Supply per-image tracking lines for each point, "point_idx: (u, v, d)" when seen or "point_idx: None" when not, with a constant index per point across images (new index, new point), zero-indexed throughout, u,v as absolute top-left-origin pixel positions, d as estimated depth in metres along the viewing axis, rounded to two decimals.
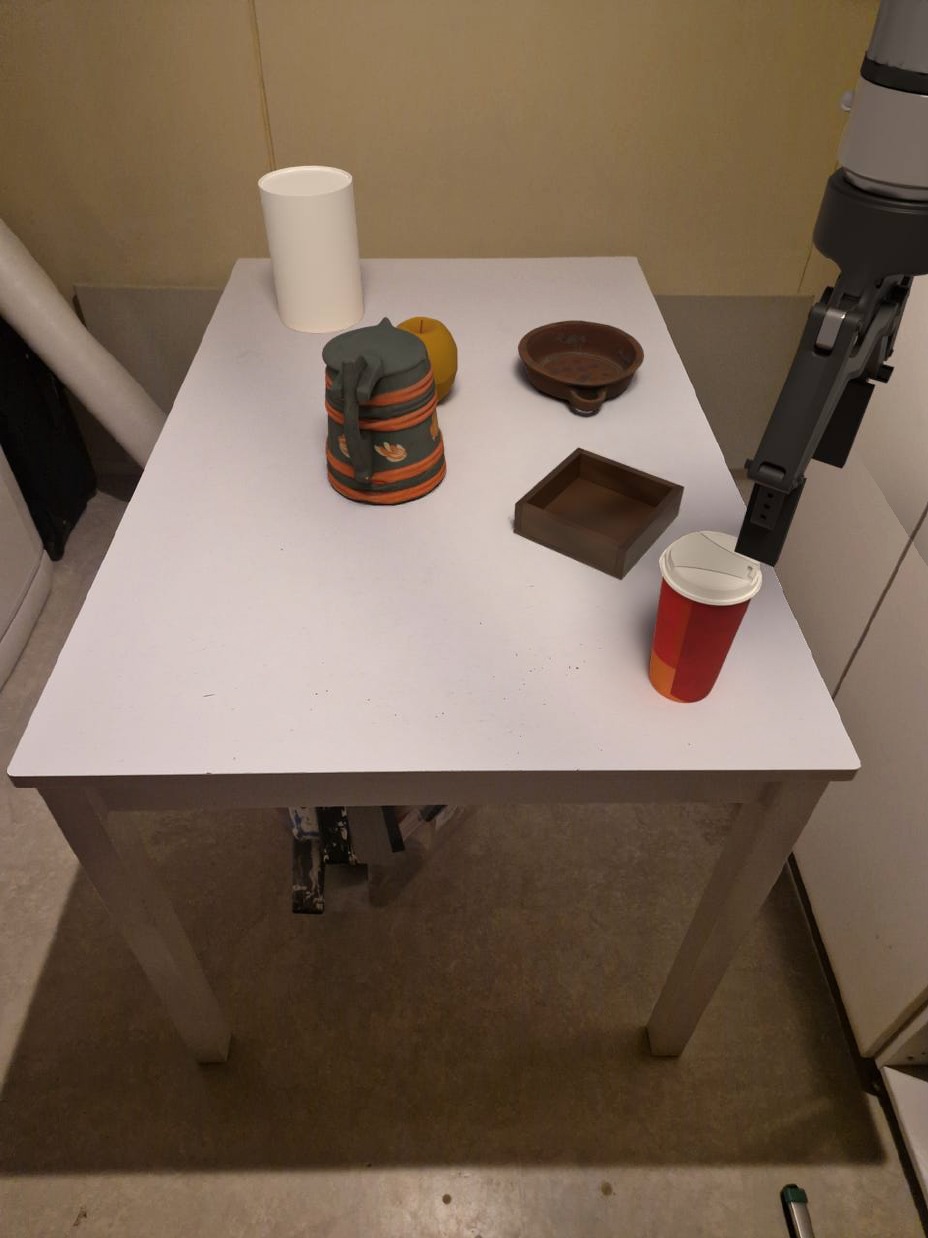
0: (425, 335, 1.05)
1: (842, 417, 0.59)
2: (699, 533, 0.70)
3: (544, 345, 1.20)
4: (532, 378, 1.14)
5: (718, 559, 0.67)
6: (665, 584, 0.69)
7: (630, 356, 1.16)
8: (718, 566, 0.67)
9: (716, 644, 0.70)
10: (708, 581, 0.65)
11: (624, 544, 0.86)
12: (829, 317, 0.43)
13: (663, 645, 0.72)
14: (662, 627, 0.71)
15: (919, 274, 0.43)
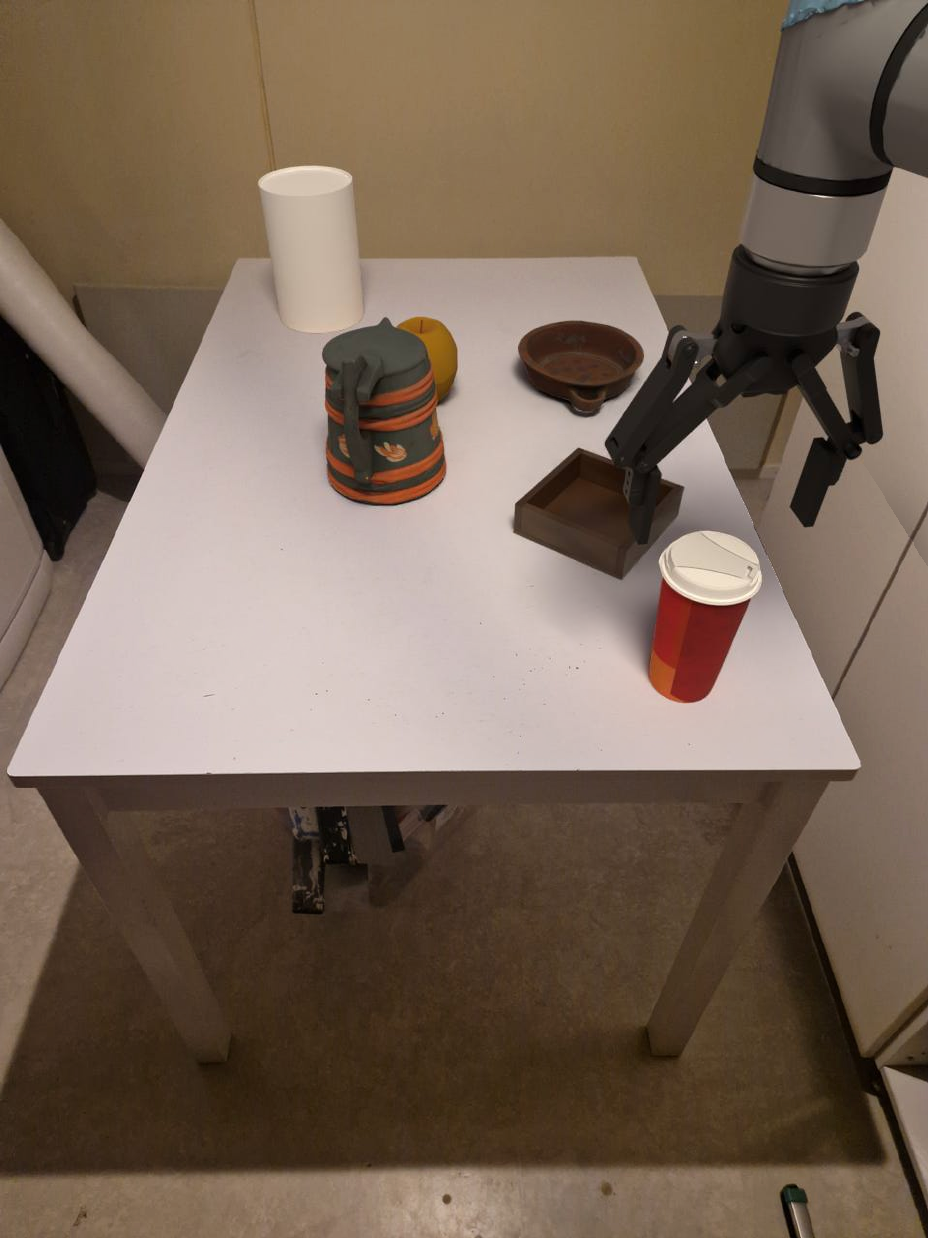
0: (425, 335, 1.05)
1: (812, 478, 0.63)
2: (699, 533, 0.70)
3: (544, 345, 1.20)
4: (532, 378, 1.14)
5: (718, 559, 0.67)
6: (665, 584, 0.69)
7: (630, 356, 1.16)
8: (718, 566, 0.67)
9: (716, 644, 0.70)
10: (707, 580, 0.65)
11: (624, 544, 0.86)
12: (674, 337, 0.53)
13: (663, 645, 0.72)
14: (662, 627, 0.71)
15: (761, 331, 0.51)
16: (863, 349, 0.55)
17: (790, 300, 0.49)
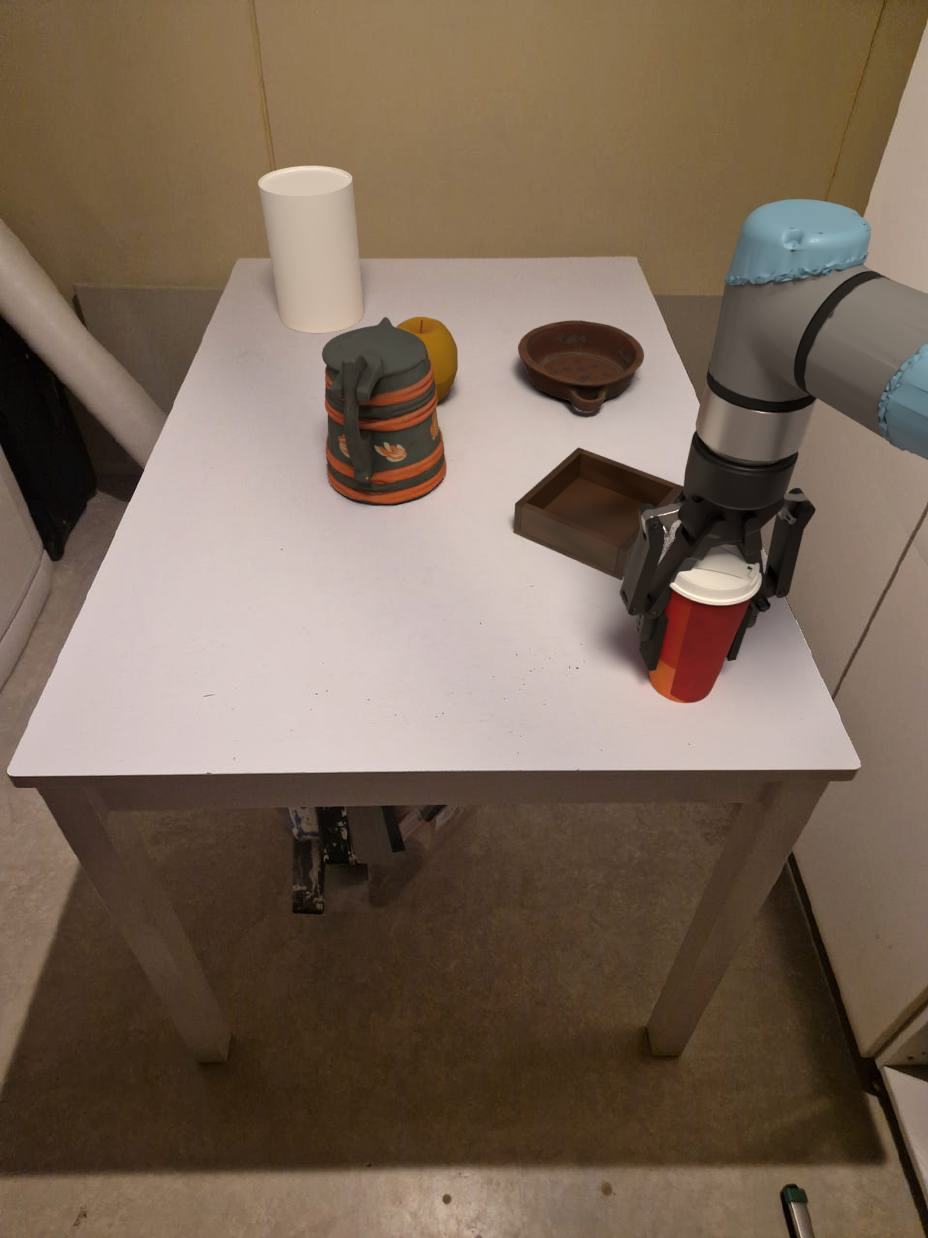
0: (425, 335, 1.05)
1: None
2: None
3: (544, 345, 1.20)
4: (532, 378, 1.14)
5: (718, 559, 0.67)
6: None
7: (630, 356, 1.16)
8: (718, 566, 0.67)
9: (716, 644, 0.70)
10: (707, 580, 0.65)
11: (624, 544, 0.86)
12: (642, 517, 0.63)
13: (663, 645, 0.72)
14: None
15: (717, 504, 0.60)
16: (799, 520, 0.64)
17: (739, 485, 0.58)
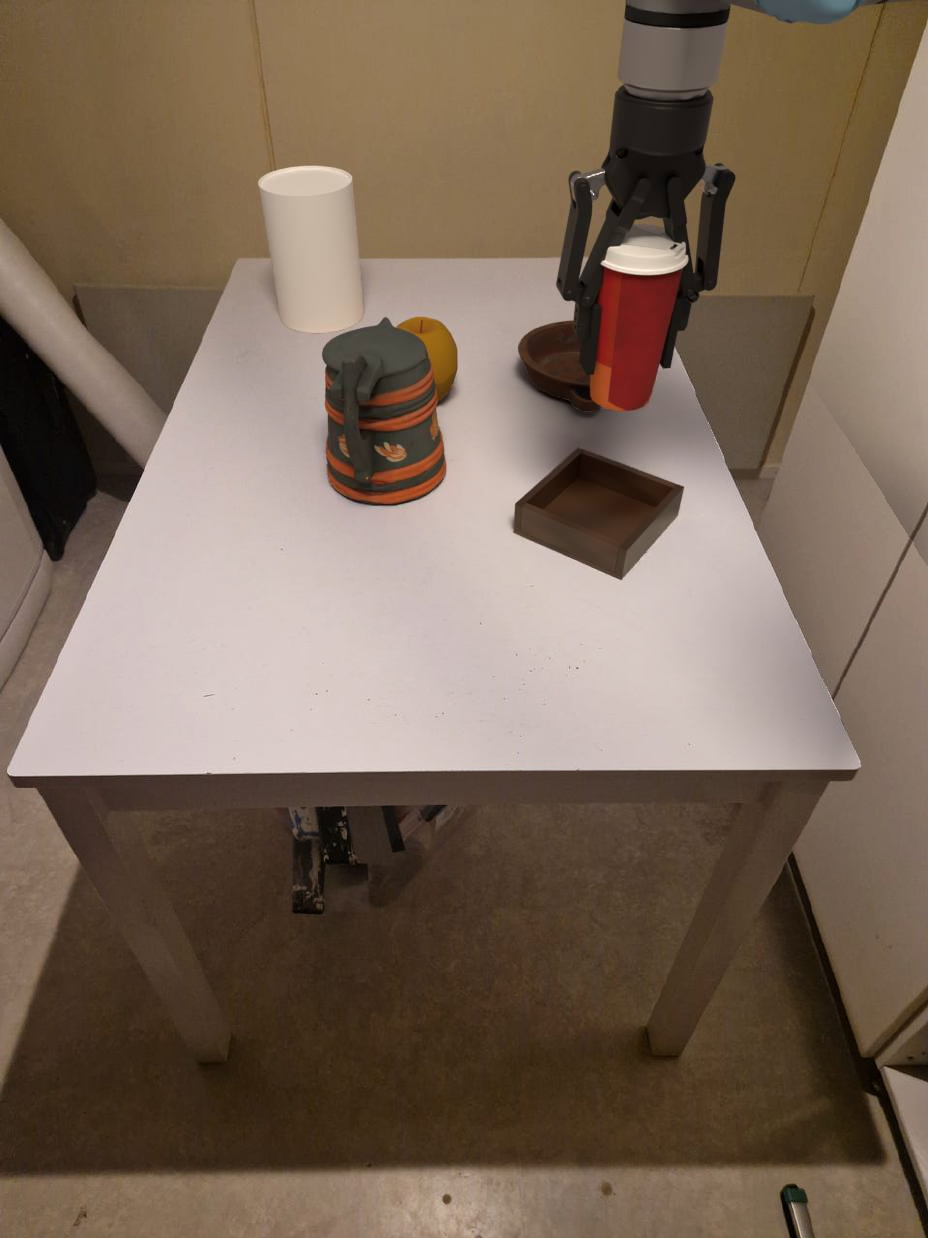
0: (425, 335, 1.05)
1: None
2: None
3: (544, 345, 1.20)
4: (532, 378, 1.14)
5: (646, 239, 0.71)
6: None
7: None
8: (646, 244, 0.70)
9: (647, 331, 0.73)
10: (635, 251, 0.69)
11: (624, 544, 0.86)
12: (571, 181, 0.67)
13: (599, 342, 0.76)
14: None
15: (638, 151, 0.64)
16: (720, 189, 0.68)
17: (656, 122, 0.62)
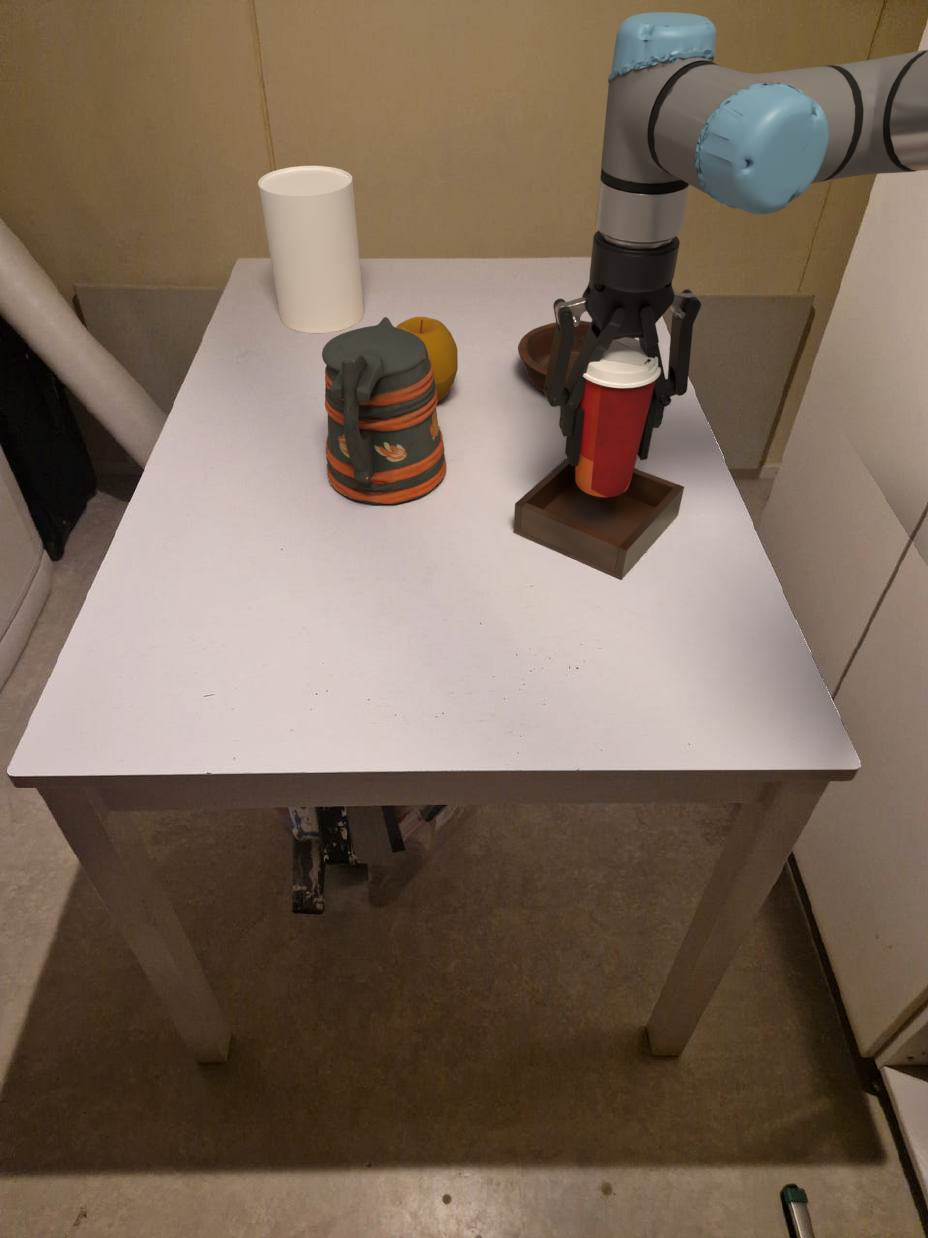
0: (425, 335, 1.05)
1: None
2: None
3: (544, 345, 1.20)
4: (532, 378, 1.14)
5: (623, 354, 0.80)
6: None
7: None
8: (622, 359, 0.79)
9: (624, 432, 0.82)
10: (612, 367, 0.78)
11: (624, 544, 0.86)
12: (556, 309, 0.76)
13: (582, 439, 0.85)
14: None
15: (613, 288, 0.73)
16: (687, 314, 0.77)
17: (629, 266, 0.71)
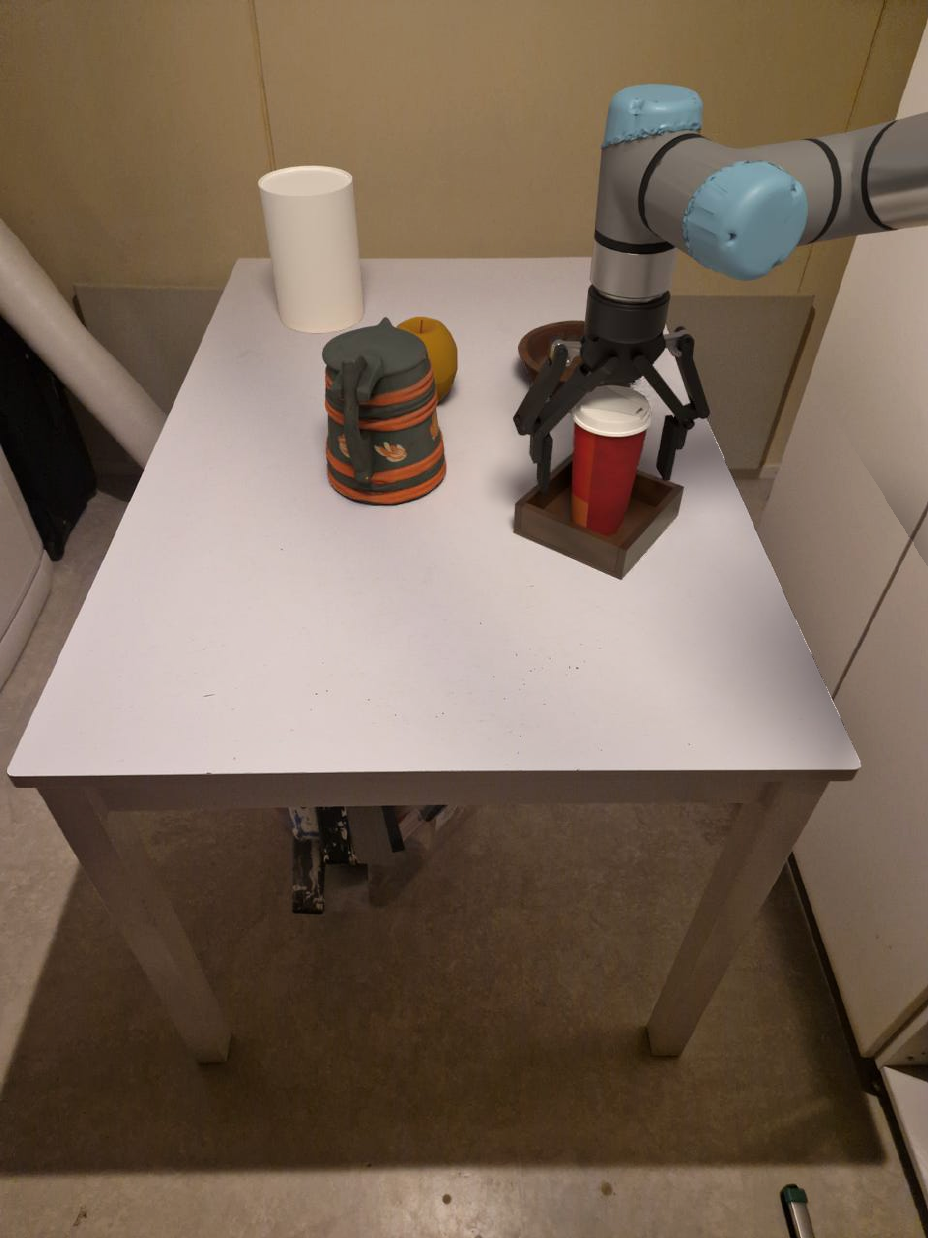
0: (425, 335, 1.05)
1: (665, 444, 0.88)
2: (604, 386, 0.86)
3: (544, 345, 1.20)
4: (532, 378, 1.14)
5: (616, 403, 0.84)
6: (575, 426, 0.85)
7: None
8: (616, 408, 0.83)
9: (617, 477, 0.86)
10: (606, 417, 0.82)
11: (624, 544, 0.86)
12: (553, 344, 0.78)
13: (578, 482, 0.89)
14: (576, 466, 0.88)
15: (607, 339, 0.76)
16: (684, 351, 0.80)
17: (621, 320, 0.74)
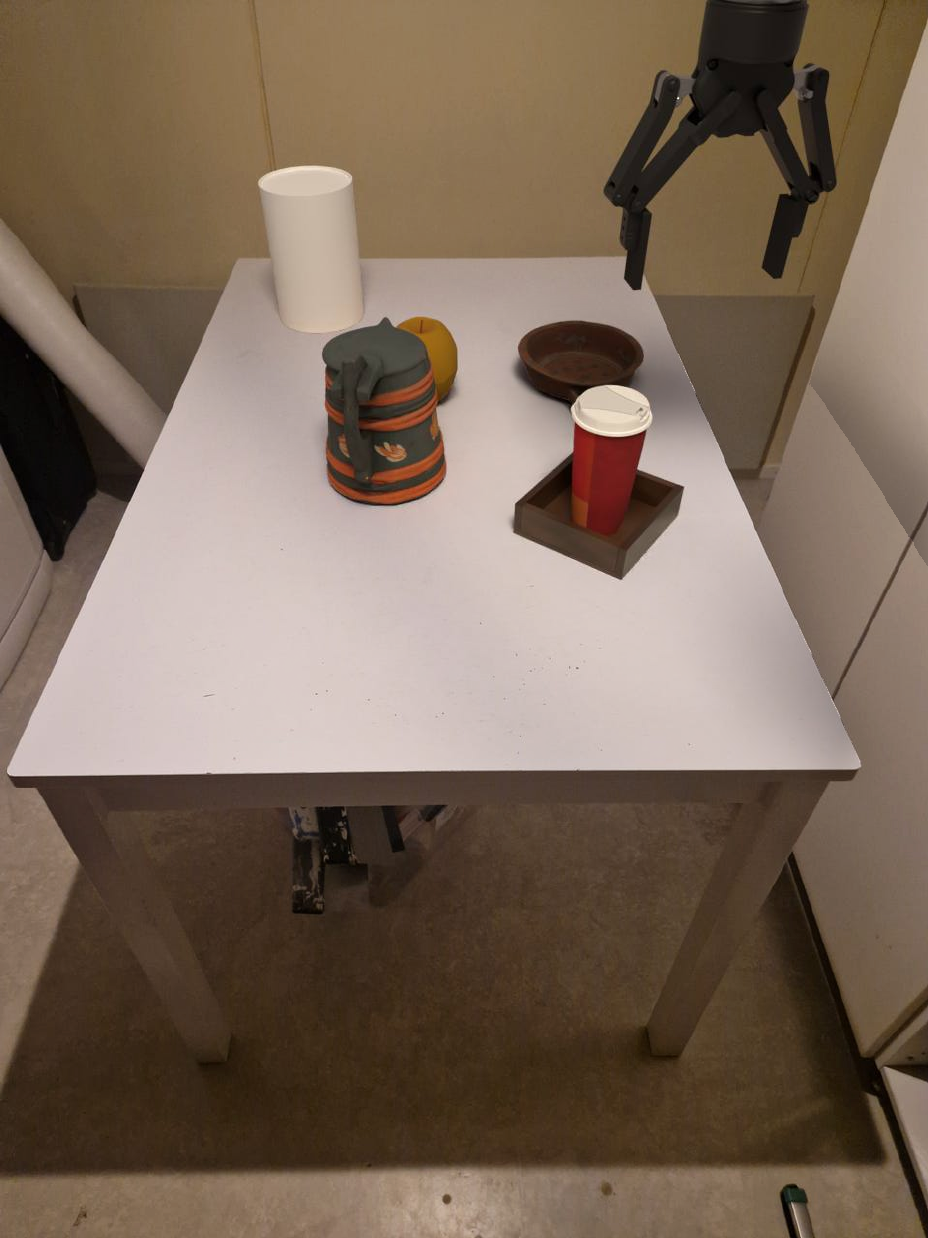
0: (425, 335, 1.05)
1: (779, 230, 0.74)
2: (604, 386, 0.86)
3: (544, 345, 1.20)
4: (532, 378, 1.14)
5: (616, 403, 0.84)
6: (575, 426, 0.85)
7: (630, 356, 1.16)
8: (616, 408, 0.83)
9: (617, 477, 0.86)
10: (606, 417, 0.82)
11: (624, 544, 0.86)
12: (660, 77, 0.65)
13: (578, 482, 0.89)
14: (576, 466, 0.88)
15: (731, 60, 0.62)
16: (816, 91, 0.66)
17: (753, 27, 0.60)
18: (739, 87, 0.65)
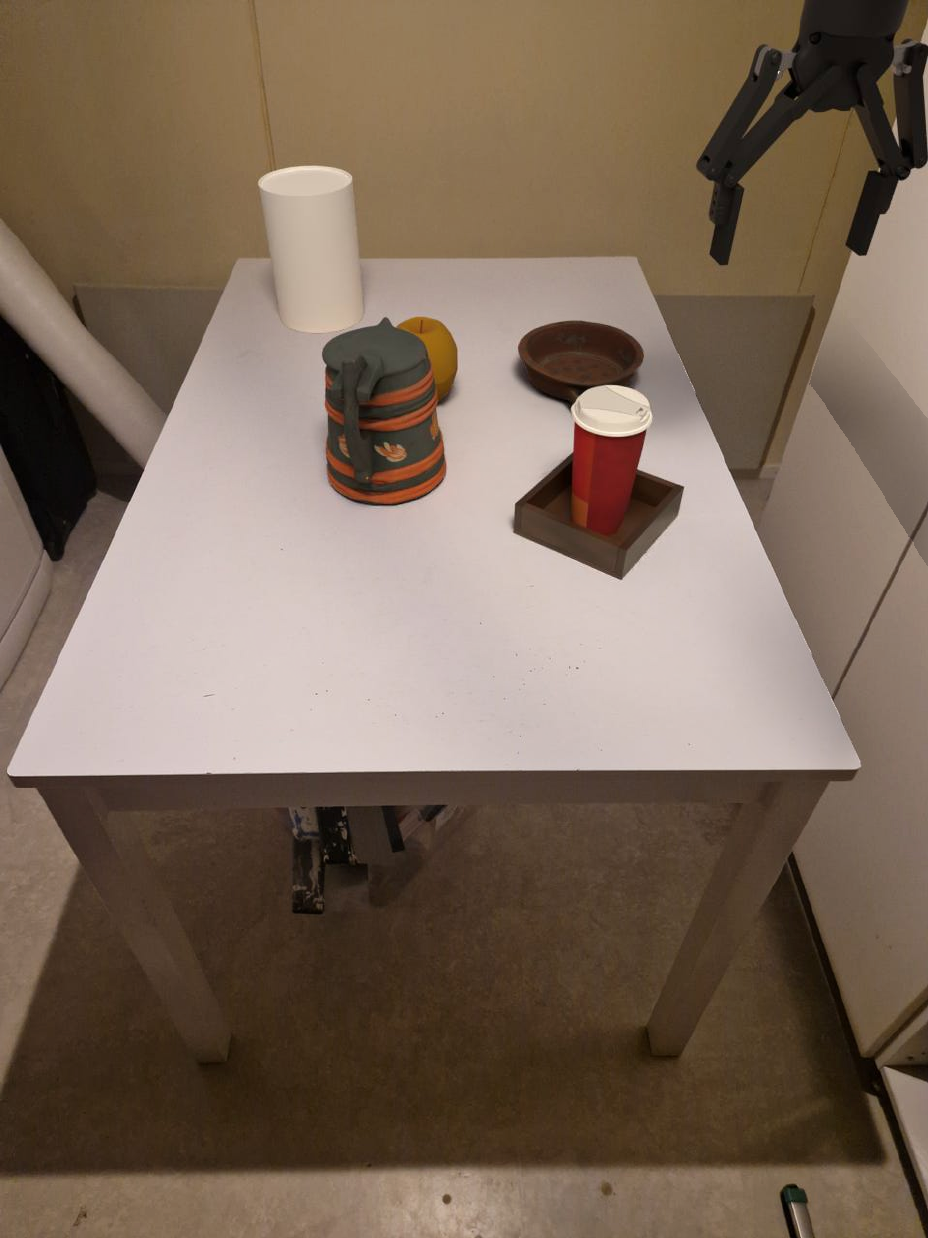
0: (425, 335, 1.05)
1: (866, 207, 0.75)
2: (604, 386, 0.86)
3: (544, 345, 1.20)
4: (532, 378, 1.14)
5: (616, 403, 0.84)
6: (575, 426, 0.85)
7: (630, 356, 1.16)
8: (616, 408, 0.83)
9: (617, 477, 0.86)
10: (606, 417, 0.82)
11: (624, 544, 0.86)
12: (761, 51, 0.65)
13: (578, 482, 0.89)
14: (576, 466, 0.88)
15: (835, 34, 0.63)
16: (914, 66, 0.66)
17: (860, 0, 0.61)
18: (839, 61, 0.65)
